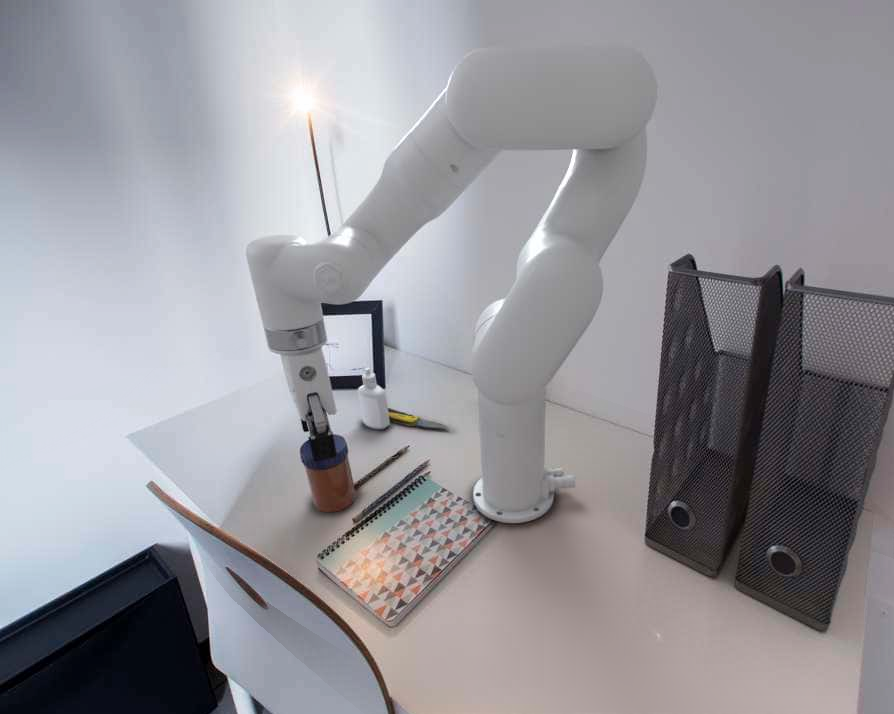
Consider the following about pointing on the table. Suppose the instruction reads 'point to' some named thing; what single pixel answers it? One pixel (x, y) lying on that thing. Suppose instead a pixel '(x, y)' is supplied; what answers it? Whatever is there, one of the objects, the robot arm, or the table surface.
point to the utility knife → (412, 420)
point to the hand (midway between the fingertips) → (319, 442)
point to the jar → (332, 487)
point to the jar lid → (327, 463)
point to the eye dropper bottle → (373, 402)
